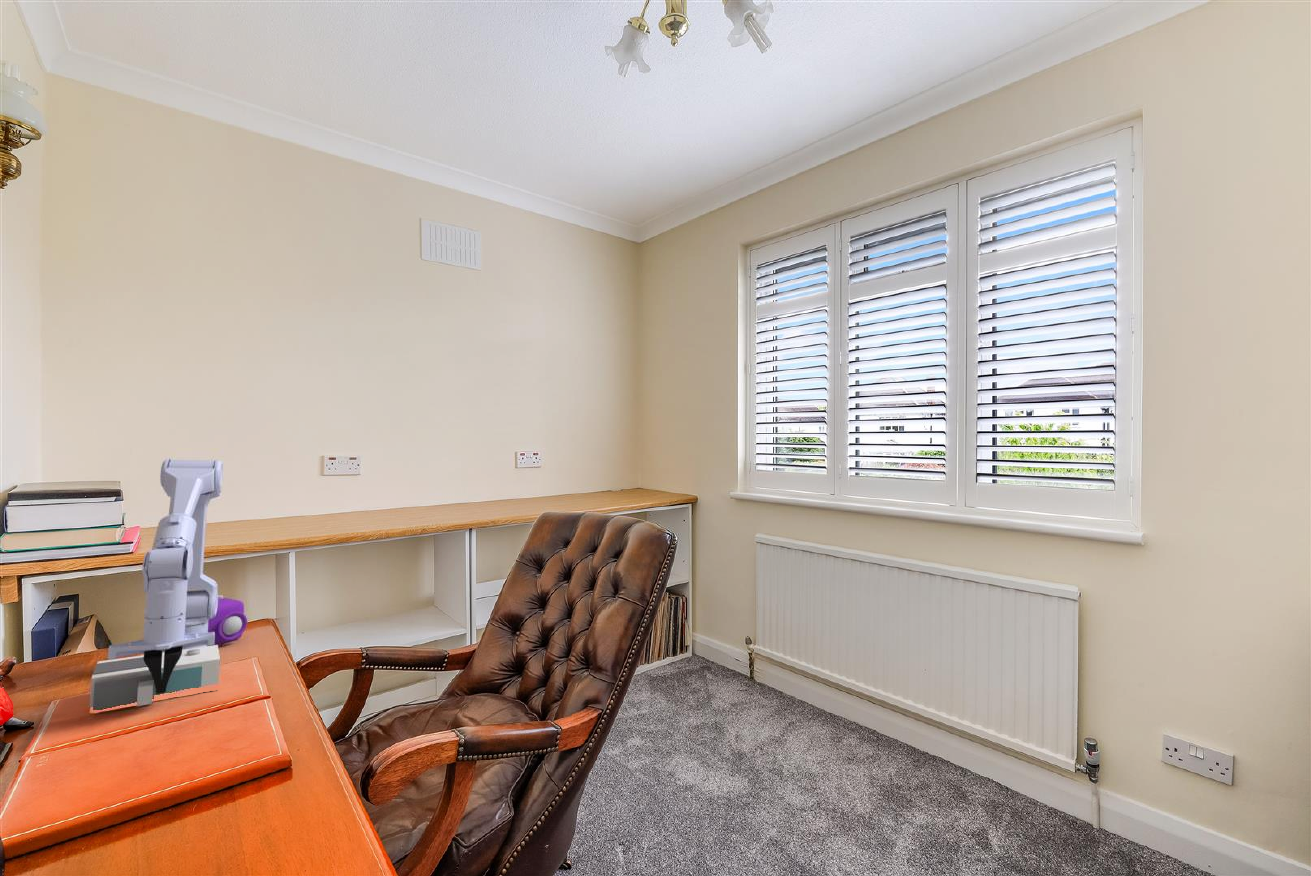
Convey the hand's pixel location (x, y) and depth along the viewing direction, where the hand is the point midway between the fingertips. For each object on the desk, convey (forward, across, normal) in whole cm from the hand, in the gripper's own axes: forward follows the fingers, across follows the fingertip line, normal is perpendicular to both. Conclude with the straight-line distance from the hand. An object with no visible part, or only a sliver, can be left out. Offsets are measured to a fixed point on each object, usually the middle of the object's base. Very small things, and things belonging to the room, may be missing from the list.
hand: (161, 691), depth 105 cm
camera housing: (+3, 0, +9) cm, 9 cm away
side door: (+2, -5, +1) cm, 6 cm away
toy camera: (+3, +10, +38) cm, 39 cm away
